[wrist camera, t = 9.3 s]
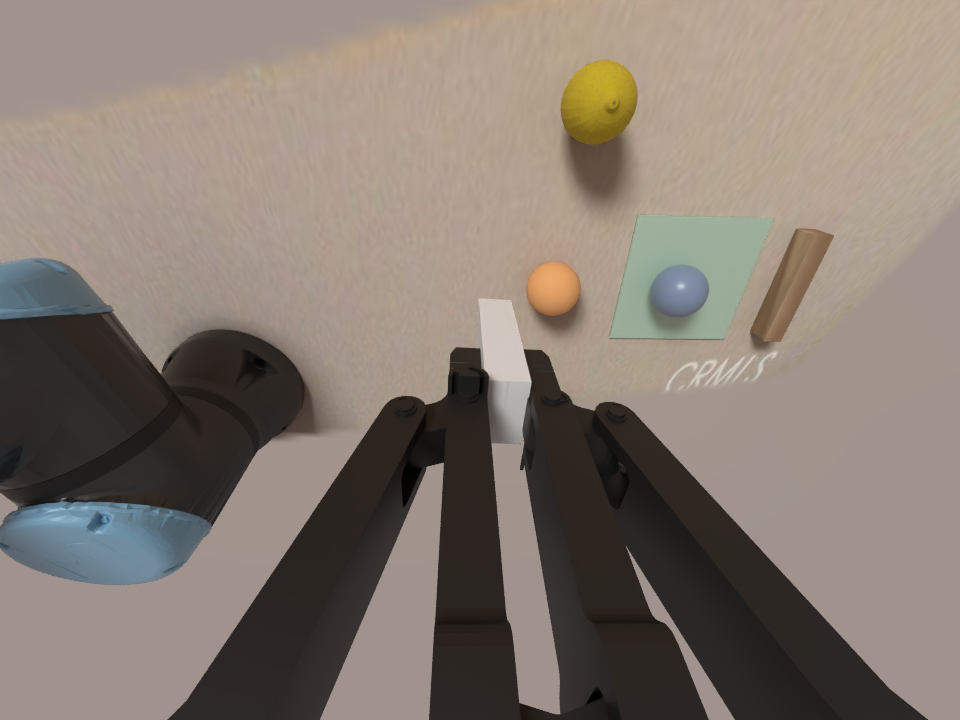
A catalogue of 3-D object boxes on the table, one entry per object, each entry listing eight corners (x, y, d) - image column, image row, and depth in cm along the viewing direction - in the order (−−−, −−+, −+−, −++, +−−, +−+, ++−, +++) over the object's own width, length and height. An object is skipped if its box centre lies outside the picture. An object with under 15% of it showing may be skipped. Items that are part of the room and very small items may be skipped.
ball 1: (577, 327, 39) (574, 305, 43) (587, 274, 36) (582, 256, 41) (522, 322, 39) (525, 301, 44) (527, 269, 37) (529, 253, 41)
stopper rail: (750, 331, 47) (763, 341, 44) (796, 228, 40) (814, 235, 38) (766, 331, 47) (780, 341, 45) (815, 229, 40) (834, 235, 38)
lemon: (607, 144, 36) (640, 150, 29) (547, 139, 35) (567, 144, 28) (623, 69, 33) (664, 56, 26) (558, 63, 32) (583, 49, 26)
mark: (609, 337, 46) (609, 337, 46) (637, 214, 39) (638, 215, 39) (723, 338, 47) (723, 339, 47) (772, 218, 40) (773, 218, 39)
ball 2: (705, 329, 39) (691, 308, 44) (725, 277, 36) (708, 260, 41) (648, 323, 40) (640, 302, 45) (663, 272, 37) (653, 255, 42)
